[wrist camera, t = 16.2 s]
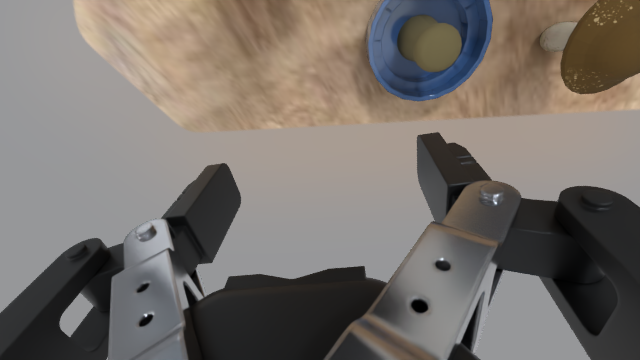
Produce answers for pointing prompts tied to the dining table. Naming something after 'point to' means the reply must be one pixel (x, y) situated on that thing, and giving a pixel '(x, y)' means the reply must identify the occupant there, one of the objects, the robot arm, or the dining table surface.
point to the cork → (429, 43)
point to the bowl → (406, 76)
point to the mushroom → (598, 46)
